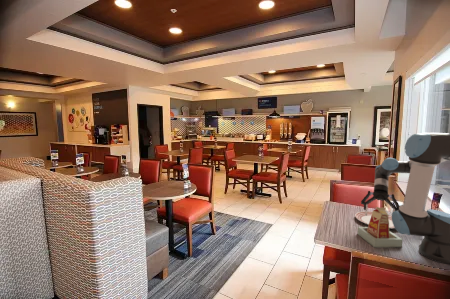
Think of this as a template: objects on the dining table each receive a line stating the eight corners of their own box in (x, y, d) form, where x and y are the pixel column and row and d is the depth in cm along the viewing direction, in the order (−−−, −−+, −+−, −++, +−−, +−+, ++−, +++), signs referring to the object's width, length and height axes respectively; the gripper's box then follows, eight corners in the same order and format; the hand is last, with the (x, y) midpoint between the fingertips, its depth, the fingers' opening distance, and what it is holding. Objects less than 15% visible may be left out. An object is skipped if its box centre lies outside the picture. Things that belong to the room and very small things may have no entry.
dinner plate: (371, 232, 144) (371, 227, 144) (347, 215, 171) (347, 211, 171) (413, 231, 145) (414, 226, 145) (382, 214, 172) (382, 210, 172)
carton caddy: (401, 247, 126) (402, 239, 126) (374, 247, 126) (374, 239, 126) (382, 233, 142) (382, 226, 141) (357, 234, 142) (358, 227, 141)
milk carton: (378, 244, 129) (381, 210, 126) (364, 236, 137) (367, 204, 135) (391, 241, 131) (393, 208, 129) (376, 234, 140) (379, 203, 138)
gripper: (404, 193, 142) (404, 224, 132) (358, 186, 156) (355, 215, 146) (406, 186, 137) (406, 219, 127) (358, 181, 151) (355, 210, 141)
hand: (379, 217), depth 136 cm, fingers open, 13 cm apart
